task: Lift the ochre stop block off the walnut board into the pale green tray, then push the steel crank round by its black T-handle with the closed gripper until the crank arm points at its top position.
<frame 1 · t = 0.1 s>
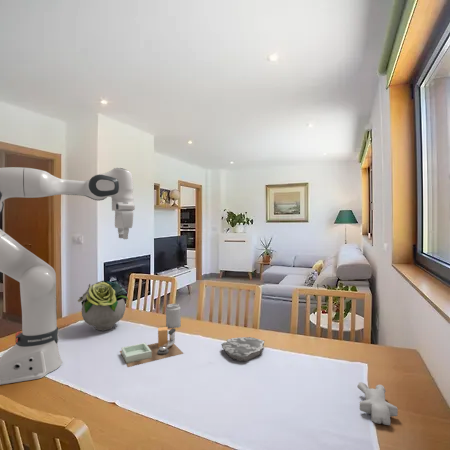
hand: (123, 238, 126), 48 cm above the table, tool pointing down, fingers open, 8 cm apart
flower arrangement: (104, 328, 153), on the table
stop block: (163, 344, 128), point 1 cm above the table, touching mechanism board
crank: (167, 339, 123), point 5 cm above the table, hinge at 41.0°
tray: (136, 355, 117), resting on mechanism board
brain slice: (242, 352, 123), on the table
bunny figurine: (376, 411, 84), on the table
mechanism board: (151, 355, 120), on the table
can: (173, 328, 152), on the table
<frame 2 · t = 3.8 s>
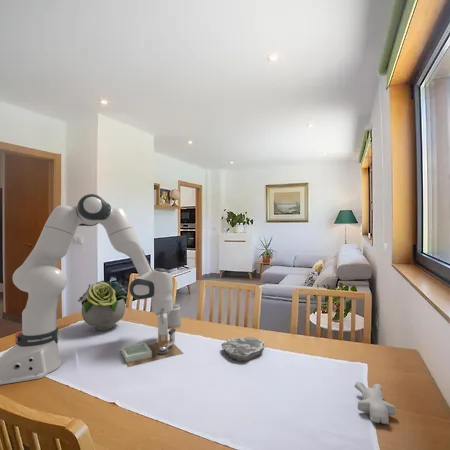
hand: (162, 337, 128), 5 cm above the table, tool pointing down, fingers closed on stop block, 4 cm apart
stop block: (163, 344, 128), point 1 cm above the table, touching gripper, mechanism board
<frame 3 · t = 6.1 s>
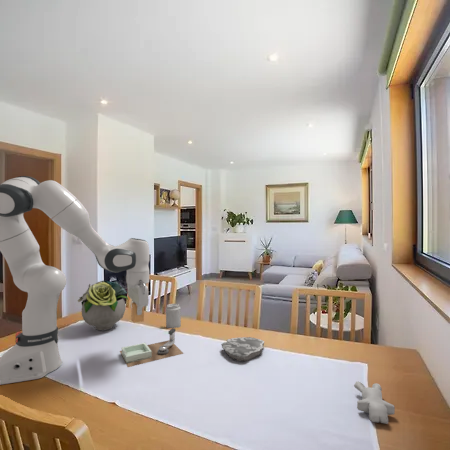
hand: (137, 312, 118), 18 cm above the table, tool pointing down, fingers closed on stop block, 4 cm apart
stop block: (137, 320, 118), point 15 cm above the table, touching gripper
everything else where it was.
when the fingers open (8 cm above the table, at t = 8.8 s): stop block drops 2 cm, resting on tray.
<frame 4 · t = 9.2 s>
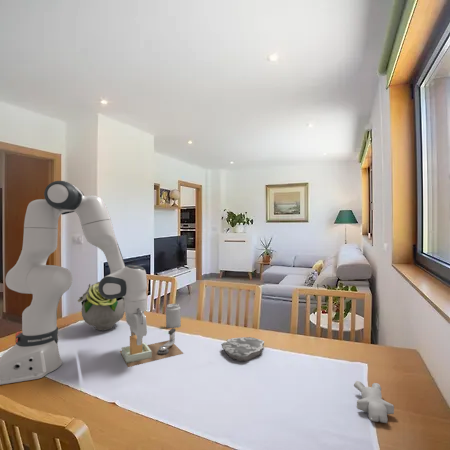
hand: (136, 340, 117), 8 cm above the table, tool pointing down, fingers open, 8 cm apart
stop block: (136, 354, 117), point 2 cm above the table, touching tray
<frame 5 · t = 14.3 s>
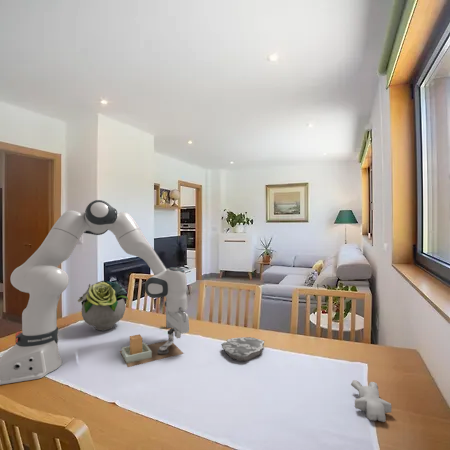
hand: (177, 337, 127), 5 cm above the table, tool pointing down, fingers closed
crank: (167, 339, 124), point 5 cm above the table, hinge at 45.0°, touching gripper
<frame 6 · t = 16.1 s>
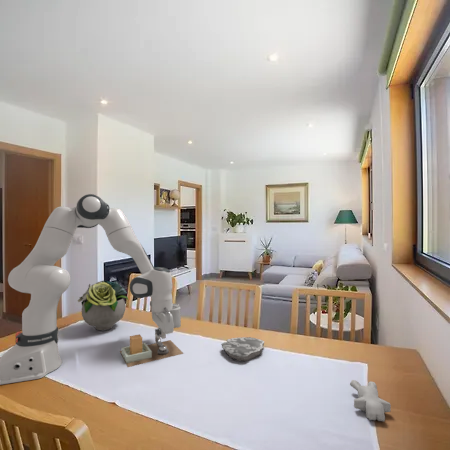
hand: (162, 337, 127), 5 cm above the table, tool pointing down, fingers closed
crank: (160, 339, 123), point 5 cm above the table, hinge at 88.7°, touching gripper
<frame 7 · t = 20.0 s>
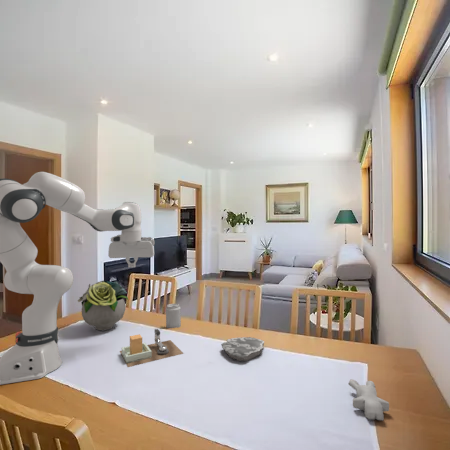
hand: (132, 267, 136), 34 cm above the table, tool pointing down, fingers closed
crank: (160, 339, 123), point 5 cm above the table, hinge at 90.1°
at the end: stop block 0.1 cm off-centre on the tray, point 0.5 cm above the tray's base; stop block tilted 0°; crank at +90° (first picture: +41°) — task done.
